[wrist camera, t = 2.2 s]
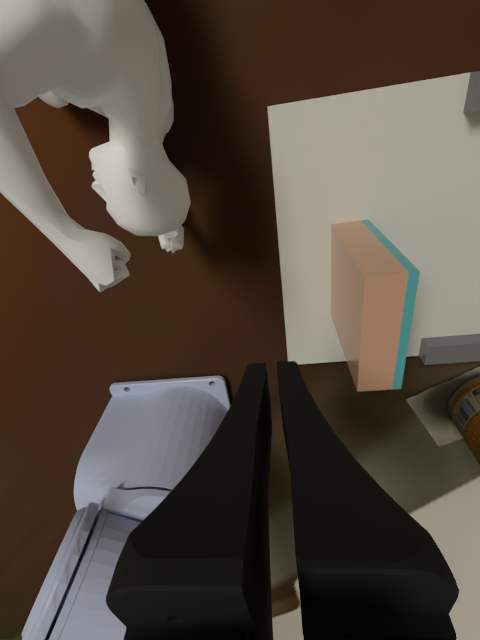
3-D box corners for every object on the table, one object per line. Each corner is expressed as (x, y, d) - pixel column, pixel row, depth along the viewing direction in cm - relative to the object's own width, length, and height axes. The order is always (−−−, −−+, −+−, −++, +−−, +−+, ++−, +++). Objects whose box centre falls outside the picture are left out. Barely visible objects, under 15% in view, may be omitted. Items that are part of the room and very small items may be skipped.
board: (287, 358, 25) (289, 374, 23) (267, 106, 16) (267, 106, 15) (551, 338, 23) (572, 354, 21) (684, 36, 14) (735, 28, 13)
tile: (330, 314, 22) (356, 391, 16) (331, 224, 18) (364, 277, 13) (362, 311, 21) (401, 388, 15) (368, 219, 18) (419, 271, 12)
